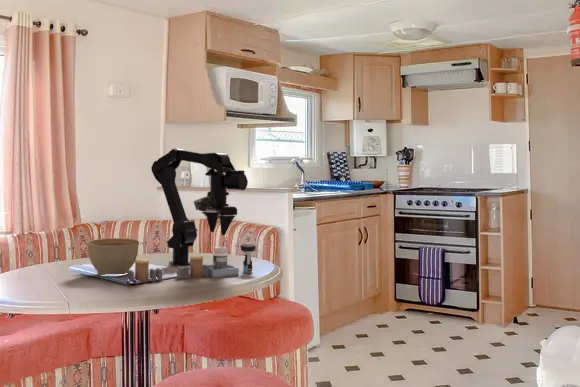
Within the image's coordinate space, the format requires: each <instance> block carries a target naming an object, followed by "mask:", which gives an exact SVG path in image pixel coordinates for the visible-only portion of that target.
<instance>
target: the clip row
mask: <svg viewBox="0 0 580 387" xmlns="http://www.w3.org/2000/svg"><path fill="white" fill-rule="evenodd" d="M208 265H209V264H203V273H202V277H206V278H208V277H210V276H209V273H210V266H208ZM156 277H157V278H158V280H156ZM150 278H151V279H152V281H151V282H162V281H163V269H162V268H159V267H156V268H155V269H154V268H150V269H149V279H150ZM176 278H177V279H179V280H183V279H190V266H187V265H182V266H177V267H176ZM128 279H129V280H130V281H134V282H135V272H134V271H133V270H132V269H129V270H128V275H127V280H128Z"/></svg>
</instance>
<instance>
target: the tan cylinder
mask: <svg viewBox="0 0 580 387" xmlns="http://www.w3.org/2000/svg"><path fill="white" fill-rule="evenodd" d="M189 259H190V260H189V262H190V264H189V278H192V279H201V278H203V273H202V272H203V265H204V262H203V261H204V260H203V259H204V256H203V255H191V256H189Z"/></svg>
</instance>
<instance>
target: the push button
mask: <svg viewBox="0 0 580 387" xmlns="http://www.w3.org/2000/svg"><path fill="white" fill-rule="evenodd" d="M239 247H240V250H241V251H242V253H245V254H244V260H243V262H242V263H243V264H242V265H243V267H242V272H243V273H246V274H251V273H252V272H253V261H252V258H251V256H252V254H251V253H253V252H255V251H256V247H257V246H256V245H254V243H253V242H250V241H249V242H247V241H246V242H242V245H241V244H240V246H239Z"/></svg>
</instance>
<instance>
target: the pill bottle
mask: <svg viewBox="0 0 580 387" xmlns="http://www.w3.org/2000/svg"><path fill="white" fill-rule="evenodd" d="M227 250H228V249H227V247H226V246H214V251H213V252H214V253H212V265H213V269H214V270H216V269H227V264H228V253H227Z"/></svg>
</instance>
